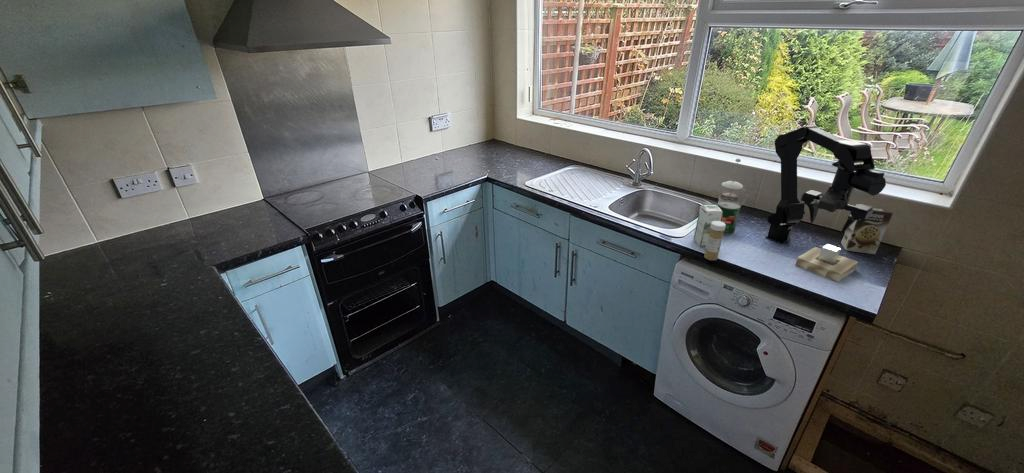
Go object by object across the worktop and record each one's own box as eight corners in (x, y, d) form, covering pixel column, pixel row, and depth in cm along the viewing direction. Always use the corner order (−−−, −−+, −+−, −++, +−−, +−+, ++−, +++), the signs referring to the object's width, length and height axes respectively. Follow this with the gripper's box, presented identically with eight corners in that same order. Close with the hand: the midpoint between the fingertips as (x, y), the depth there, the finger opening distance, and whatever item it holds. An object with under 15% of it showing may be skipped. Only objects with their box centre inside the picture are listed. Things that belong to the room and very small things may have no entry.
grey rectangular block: (815, 265, 145) (822, 247, 142) (821, 262, 147) (827, 243, 144) (828, 270, 143) (835, 251, 139) (834, 266, 145) (841, 248, 141)
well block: (794, 265, 147) (797, 257, 145) (812, 254, 153) (815, 246, 152) (838, 282, 137) (841, 274, 136) (855, 269, 144) (858, 261, 142)
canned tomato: (731, 226, 174) (737, 201, 169) (736, 235, 167) (743, 209, 162) (710, 225, 175) (715, 200, 170) (715, 234, 168) (721, 208, 163)
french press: (709, 210, 189) (721, 154, 177) (738, 211, 187) (752, 155, 176) (716, 220, 180) (729, 161, 169) (745, 221, 179) (760, 162, 167)
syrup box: (708, 239, 164) (715, 204, 158) (714, 246, 159) (723, 210, 152) (693, 239, 164) (700, 204, 158) (699, 247, 159) (707, 210, 152)
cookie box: (845, 250, 155) (861, 209, 148) (840, 243, 161) (855, 202, 154) (876, 254, 153) (893, 213, 145) (869, 246, 158) (886, 206, 151)
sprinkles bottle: (710, 253, 154) (717, 219, 148) (720, 259, 151) (729, 224, 145) (700, 256, 153) (708, 221, 147) (711, 262, 149) (719, 227, 143)
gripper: (799, 180, 139) (785, 223, 147) (867, 198, 126) (848, 245, 133) (816, 173, 145) (801, 215, 152) (882, 190, 131) (863, 235, 138)
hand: (826, 227), depth 144 cm, fingers open, 9 cm apart
